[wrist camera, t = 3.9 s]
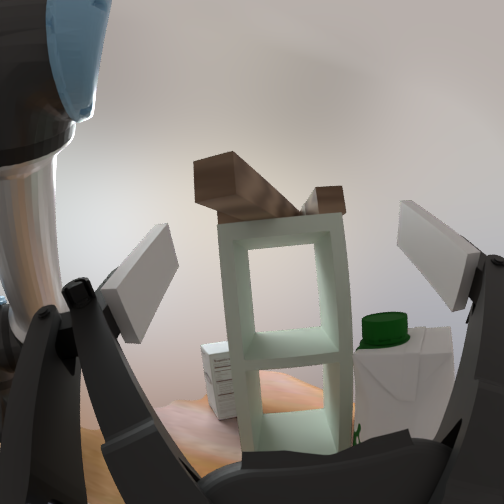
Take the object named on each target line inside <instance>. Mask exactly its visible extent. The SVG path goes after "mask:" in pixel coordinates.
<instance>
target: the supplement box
mask: <svg viewBox="0 0 504 504" xmlns="http://www.w3.org/2000/svg"><path fill="white" fill-rule="evenodd" d="M201 352H202V360H203V368H204V375H205V382H206V389H207V396H208V402H209V405H210V406H211V408H212V409H213V411H214V413H215V414H216V416H217V418H218V420H223V419H228V418H233V417H237V413H236V406H235V398H234V390H233V382H232V374H231V365H230V357H229V348H228V341H224V342H217V343H210V344H203V345H201Z"/></svg>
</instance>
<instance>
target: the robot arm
mask: <svg viewBox="0 0 504 504" xmlns="http://www.w3.org/2000/svg"><path fill="white" fill-rule="evenodd" d="M111 2H112V0H0V280H1V283H2V286H3V288H4V291H5V294H6V296H7V299H8V301H9V304H6V303H7V302H6V300H5V297H4V296H0V443H1V448H0V504H88V503H87V494H86V487H85V480H84V472H83V462H82V450H81V433H80V379H81V378H80V377H81V368H82V372H83V376H84V380H85V383H86V387H87V390H88V393H89V397H90V400H91V403H92V406H93V409H94V412H95V415H96V418H97V421H98V423H99V426H100V429H101V431H102V434H103V437H104V439H105V444H102V445H101V451H102V454H103V457H104V459H105V462H106V464H107V466H108V469H109V471H110V473H111V475H112V477H113V480H114V482H115V484H116V486H117V488H118V490H119V492H120V494H121V496H122V498H123V500H124V502H125V503H126V504H504V258H503V257H501V256H498V255H488V256H486V255H485V254H484V253H482V252H481V251H480V250H479V249H478V248H476V247H475V246H474V245H473V244H472V243H471V242H469V241H468V240H467V239H465V238H464V237H463V236H461V235H459V234H457V233H456V232H455V231H454V230H452V229H451V228H450V227H448V226H447V225H446V224H444V223H443V222H442V221H440V220H439V219H438V218H436V217H435V216H433V215H432V214H431V213H429V212H428V211H426V210H425V209H423V208H422V207H421V206H419V205H417V204H416V203H415V202H413V201H411V200H406V201H400V212H399V228H398V240H397V246H398V247H399V248H400V249H401V250H402V251H403V252H404V253H405V255H406V256H407V257H408V258H409V259H410V260H411V261H412V263H413V264H414V265H415V266H416V267H417V268H418V270H419V271H420V272H421V273H422V274H423V276H424V277H425V278H426V279H427V281H428V282H429V283H430V284H431V285H432V287H433V288H434V289H435V290H436V292H437V293H438V294H439V296H440V297H441V298H442V299H443V301H444V302H445V303H446V304H447V306H448V307H449V309H450V310H451V311H452V312H454V311H458V310H462V309H465V306H466V304H467V300H468V297H469V298H470V299H471V300H472V301H473V303H472V306H471V310H470V312H469V315H468V318H467V321H466V323H468V328H467V334H466V339H465V343H464V348H463V353H462V357H461V361H460V365H459V369H458V372H457V376H456V380H455V383H454V386H453V390H452V393H451V396H450V399H449V402H448V405H447V408H446V411H445V414H444V416H443V419H442V422H441V424H440V427H439V429H438V432H437V434H436V436H435V437H434V439H433V440H429V439H423V438H411V436H410V433H409V429H404V430H401V431H397V432H394V433H390V434H386V435H382V436H377V437H373V438H370V439H368V440H366V441H363V442H361V443H359V444H357V445H354V446H352V447H350V448H347V449H345V450H342V451H340V452H337V453H335V454H331V455H321V454H311V453H302V452H294V451H287V450H280V451H254V452H242V461H240V462H236V463H232V464H229V465H226V466H223V467H221V468H219V469H216V470H215V471H213V472H211V473H209V474H207V475H206V476H204V477H203V478H201V477H200V476H199V474H198V473H197V472H196V471H195V470H194V468H193V467H192V466H191V465H190V463H189V462H188V461H187V459H186V458H185V457H184V455H183V454H182V452H181V451H180V449H179V448H178V447H177V445H176V444H175V442H174V441H173V439H172V438H171V436H170V435H169V433H168V432H167V430H166V428H165V427H164V425H163V424H162V422H161V421H160V419H159V417H158V416H157V414H156V412H155V411H154V409H153V407H152V406H151V404H150V402H149V400H148V399H147V397H146V395H145V393H144V392H143V390H142V388H141V386H140V384H139V383H138V381H137V379H136V377H135V375H134V373H133V371H132V369H131V367H130V365H129V363H128V361H127V359H126V357H125V355H124V353H123V351H122V349H121V347H120V344H119V343H118V341H117V338H118V335H119V334H120V333H121V335H122V337H123V339H124V341H125V343H136V344H141V342H142V339H143V338H144V335H145V333H146V331H147V329H148V327H149V325H150V322H151V321H152V319H153V317H154V315H155V312H156V310H157V308H158V306H159V304H160V302H161V300H162V298H163V296H164V294H165V292H166V290H167V288H168V286H169V284H170V282H171V280H172V279H173V277H174V275H175V273H176V271H177V269H178V267H179V265H178V261H177V257H176V253H175V249H174V245H173V242H172V238H171V234H170V230H169V225H168V223H165V224H158V225H155V226H154V227H153V228H152V229H151V231H150V232H149V233H148V234H147V235H146V236H145V237H144V238H143V239H142V241H141V242H140V243H139V244H138V245H137V246H136V247H135V249H134V250H133V251H132V252H131V253H130V254H129V255H128V257H127V258H126V259H125V260H124V261H123V262H122V264H121V265H120V266H119V267H117V268H116V269H115V270H113V271H112V272H111V273H110V274H109V275H108V277H107V279H105V280H104V281H103V283H102V284H101V285H100V286H99V287H98V289H97V290H96V291H95V292H94V290H93V288H92V285H91V283H90V281H89V279H88V278H85V277H82V278H78V279H75V280H73V281H71V282H69V283H68V284H66V285H65V286H64V287H63V289H62V283H61V277H60V268H59V259H58V248H57V236H56V216H55V174H56V155H57V154H58V153H59V152H60V151H61V150H63V149H64V148H65V147H66V146H67V145H68V144H69V143H70V142H71V141H72V139H73V136H74V132H75V126H76V122H78V123H80V122H82V121H83V120H88V119H89V118H91V117H92V116H93V113H94V106H95V98H96V88H97V80H98V73H99V67H100V60H101V54H102V48H103V43H104V38H105V32H106V27H107V22H108V18H109V13H110V7H111Z"/></svg>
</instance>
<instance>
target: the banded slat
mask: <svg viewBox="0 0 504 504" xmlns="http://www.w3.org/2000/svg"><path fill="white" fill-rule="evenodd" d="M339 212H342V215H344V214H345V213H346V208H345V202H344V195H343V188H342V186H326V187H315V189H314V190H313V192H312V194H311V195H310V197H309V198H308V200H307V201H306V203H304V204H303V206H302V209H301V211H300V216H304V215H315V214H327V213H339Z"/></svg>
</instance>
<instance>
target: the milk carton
mask: <svg viewBox="0 0 504 504" xmlns="http://www.w3.org/2000/svg"><path fill="white" fill-rule="evenodd" d="M362 337H363V339H362V340H361V341H360V346H359V347H358V348H357V349H356V351H355V352H354V354H353V355H352V358H353V366H354V376H355V390H356V394H355V421H354V438H353V446H354V445H357V444H359V443H361V442H363V441H366V440H368V439H370V438H373V437H377V436H382V435H386V434H390V433H394V432H397V431H401V430H404V429H409V433H410V436H411V438H423V439H429V440H433V439H434V437H435V436H436V434H437V432H438V429H439V427H440V424H441V422H442V419H443V416H444V414H445V411H446V408H447V405H448V402H449V399H450V396H451V393H452V390H453V386H454V383H455V377H454V356H453V345H452V336H451V327H437V328H426V327H415V328H408V323H407V314H406V313H403V312H383V313H376V314H371V315H367V316H365V317H363V318H362Z"/></svg>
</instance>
